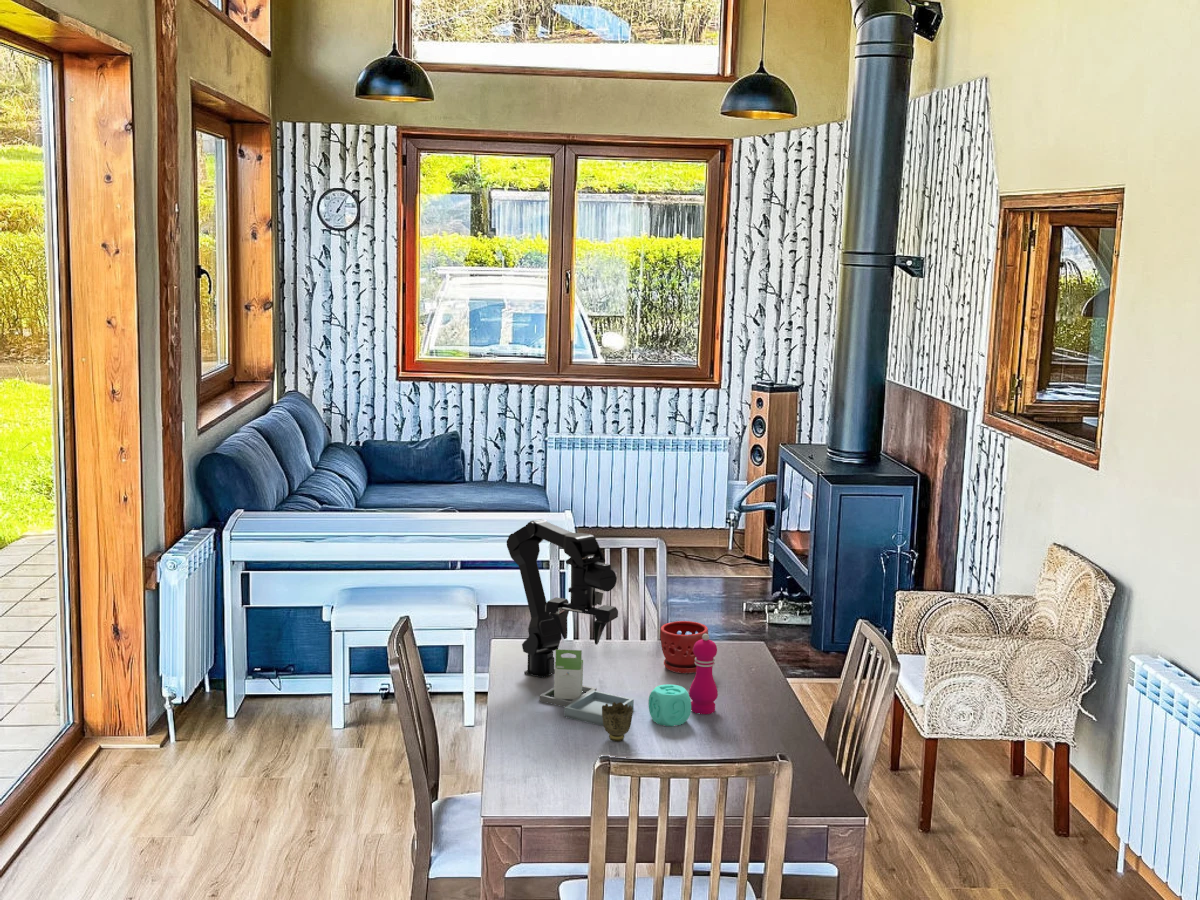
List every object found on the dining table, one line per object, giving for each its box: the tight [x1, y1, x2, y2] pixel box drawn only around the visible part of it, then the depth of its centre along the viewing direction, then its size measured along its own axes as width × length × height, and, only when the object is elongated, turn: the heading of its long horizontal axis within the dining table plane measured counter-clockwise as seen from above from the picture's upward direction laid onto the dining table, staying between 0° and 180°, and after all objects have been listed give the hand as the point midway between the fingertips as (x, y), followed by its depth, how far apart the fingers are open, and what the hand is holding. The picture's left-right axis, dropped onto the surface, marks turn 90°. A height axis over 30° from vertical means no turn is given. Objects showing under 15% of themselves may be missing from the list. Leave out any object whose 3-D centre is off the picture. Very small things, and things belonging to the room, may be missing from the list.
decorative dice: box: [648, 683, 692, 727], centre depth 314 cm, size 8×8×8 cm
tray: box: [563, 690, 635, 727], centre depth 318 cm, size 12×15×2 cm
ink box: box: [553, 648, 584, 701], centre depth 327 cm, size 7×4×13 cm, turn 84°
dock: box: [539, 684, 598, 707], centre depth 328 cm, size 10×13×2 cm
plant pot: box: [659, 620, 709, 675], centre depth 352 cm, size 13×13×12 cm
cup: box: [602, 702, 634, 743], centre depth 301 cm, size 8×7×8 cm
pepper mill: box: [688, 633, 719, 715], centre depth 321 cm, size 7×7×20 cm
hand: (580, 641), depth 332 cm, fingers open, 9 cm apart
